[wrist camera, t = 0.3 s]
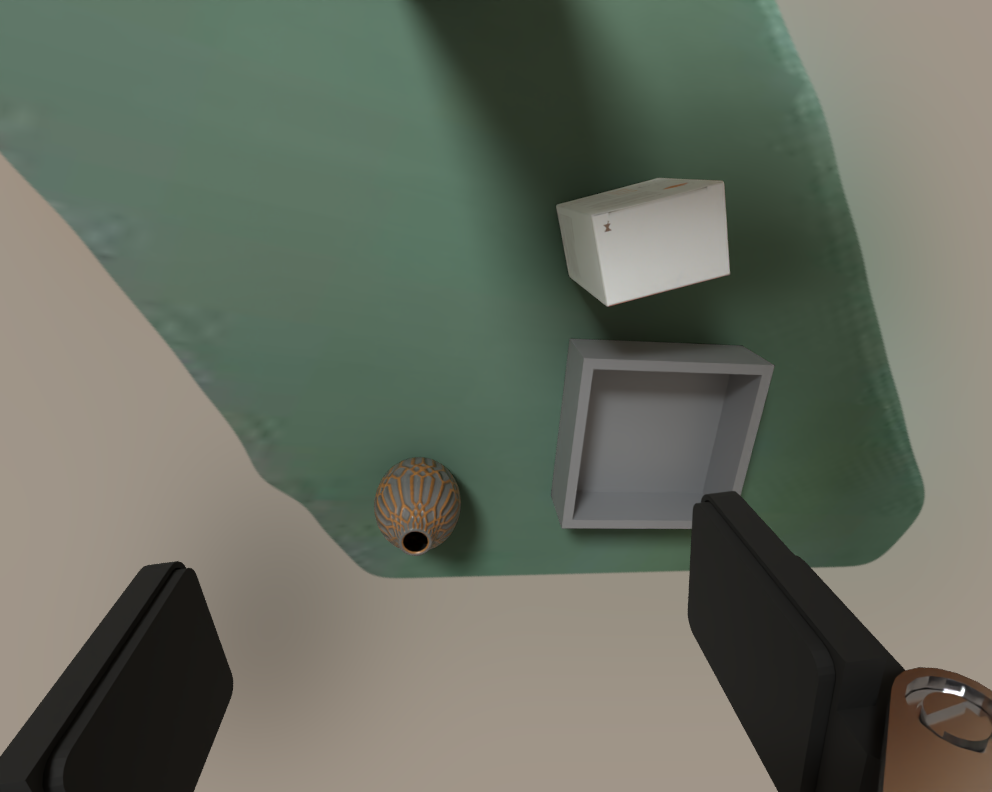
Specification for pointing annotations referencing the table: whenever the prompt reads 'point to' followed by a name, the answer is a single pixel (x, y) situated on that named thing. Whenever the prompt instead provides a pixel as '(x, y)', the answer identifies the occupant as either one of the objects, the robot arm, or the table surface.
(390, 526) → the vase
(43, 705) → the robot arm
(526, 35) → the table surface
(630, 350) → the bin
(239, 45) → the table surface
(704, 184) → the small box
